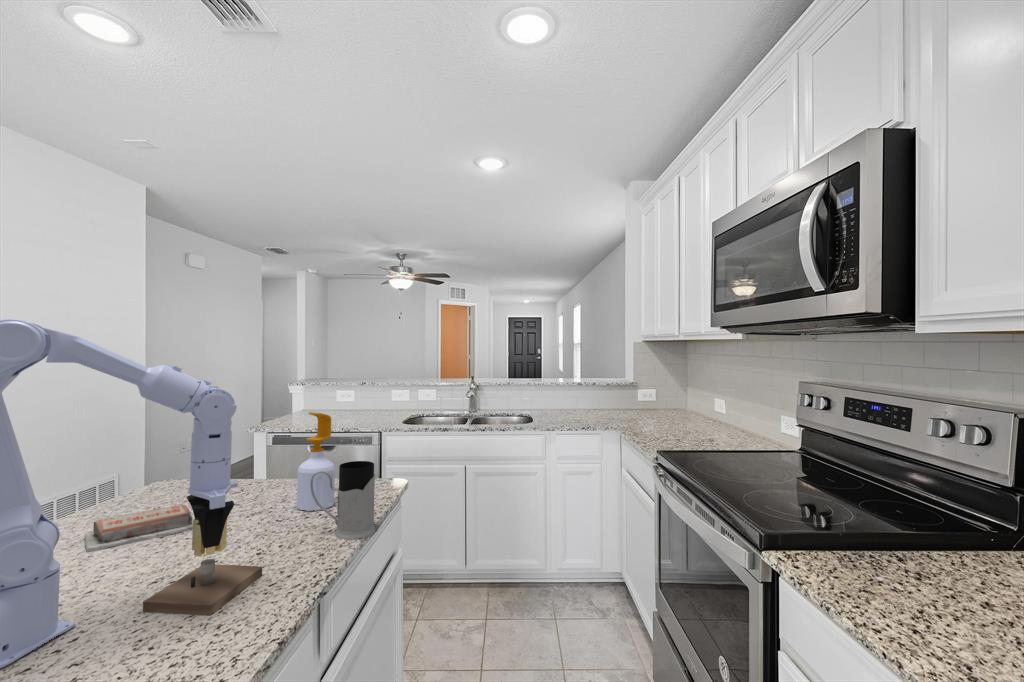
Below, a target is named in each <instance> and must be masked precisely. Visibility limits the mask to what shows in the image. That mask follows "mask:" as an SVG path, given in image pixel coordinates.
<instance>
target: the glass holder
mask: <svg viewBox="0 0 1024 682" xmlns="http://www.w3.org/2000/svg"><path fill="white" fill-rule="evenodd" d="M338 467H339V468H338V469H339V471H338V487H337V488H335V487H334V488H333V487H332V478H331V476H330V474H329V473H327V472H326V471H319V472H316V473H315V474H314V475H313V476H312V478H311V492H312V496H313V498H314V500H315V502H316V504H317V505H318V506H319V507H320V508H321V509H322V510H321V511H323V512H324V513H326V514H327V515H329V516H330V517H331V518H332V519H333V520H334V521H335V525H336V530H335V532H334V536H335V537H336V538H338V539H342V540H360V539H365V538H367V537H370V536H372V535H374V534H375V532H376V530H377V529H376V527H375V521H374V520H375V487H376V486H375V485H376V484H375V482H376V481H375V478H376V477H375V476H376V475H375V474H376V473H375V462H372V461H369V460H368V461H367V460H355V461H347V462H343V463H340V464H339V466H338ZM318 473H325V474H326V475H327V476H328V477H329V479H330V488H331V489H332V490H334V492H335V491H337V514H336V515H337V517H336V516H335V515H334V514H332V513H331V512H330V511H329V510H327V509H325V508H324V507H323V506H321V504H320V503H319V502H318V501H317V499H316V497H315V495H314V491H313V478H314V476H315V475H316V474H318Z"/></svg>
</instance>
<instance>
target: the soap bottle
mask: <svg viewBox="0 0 1024 682" xmlns="http://www.w3.org/2000/svg"><path fill="white" fill-rule="evenodd" d="M308 415H311V416H313V417H316V418H317V432H316V433H317V434H316V435H315V436H310V437H307V438H306V439H305V440H306V442H307V441H308V442H309V441H310V442H311V444H313V448H310V450H309V458H307V460H305V461H303V462H302V463H301V464H300V465H299V466H298V469H297V477H296V478H297V479H296V480H297V481H296V482H297V485H296V486H297V487H296V488H297V489H296V508H297V509H298V510H299V509H300V511H302V510H306V511H305V512H314V511H313V510H319V511H323V510H322V509H321V508H320V507H319V506H318V505H317V504H316V502H315V500H314V498H313V496H312V492H311V478H312V476H313V475H314V474H315V473H316V472H319V471H326V472H327V473H329V474H330V476H331V478H332V487H333V488H335V486H336V485H335V483H336V481H335V480H336V479H335V478H336V477H335V476H336V468H335V467H336V466H335V464H334V462H333V461H331V460H330V459H328V458H326V457H325V455H324V454H325V453H324V452H325V449H324V448H323V447H321V446H322V445H321V444H324V443H323V442H324V441H325V440H329V439H330V438H331V436H332V417H331V416H330V414H326V413H322V412H308ZM313 491H314V495H315V497H316V499H317V501H318V502H319V503H320V504H321V506H323V507H324V508H325V509H326V508H327V509H329V508H331V507H333V505H334V504H335V490H332V489H331V488H330V479H329V477H328V476H327V475H326V474H325V473H318V474H316V475H315V476H314V478H313ZM327 509H326V510H327Z"/></svg>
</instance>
